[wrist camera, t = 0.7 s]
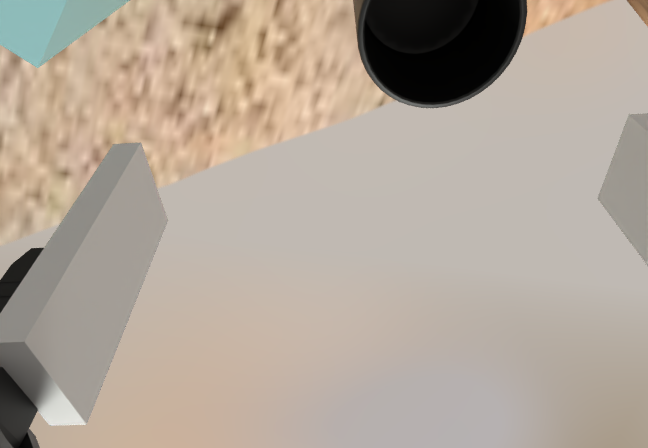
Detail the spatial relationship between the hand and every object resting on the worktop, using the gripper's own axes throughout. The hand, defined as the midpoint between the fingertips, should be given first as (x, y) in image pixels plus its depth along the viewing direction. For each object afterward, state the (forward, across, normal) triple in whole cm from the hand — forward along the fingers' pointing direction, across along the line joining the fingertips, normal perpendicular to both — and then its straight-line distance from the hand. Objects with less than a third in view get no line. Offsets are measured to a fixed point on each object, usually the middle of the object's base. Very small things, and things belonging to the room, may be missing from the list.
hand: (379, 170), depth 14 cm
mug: (+26, +4, -1) cm, 26 cm away
